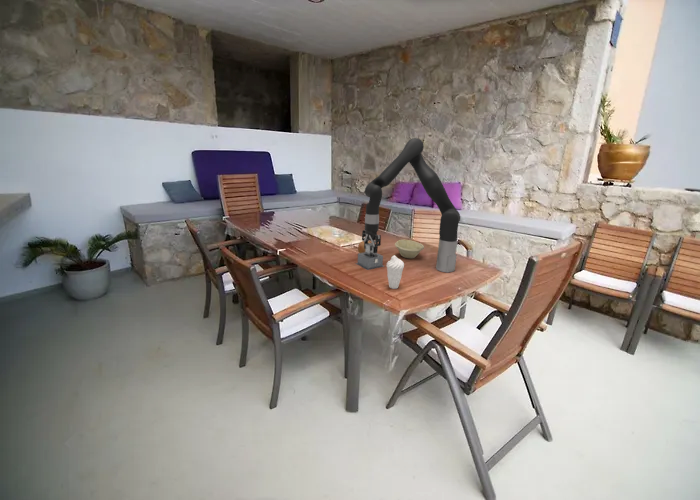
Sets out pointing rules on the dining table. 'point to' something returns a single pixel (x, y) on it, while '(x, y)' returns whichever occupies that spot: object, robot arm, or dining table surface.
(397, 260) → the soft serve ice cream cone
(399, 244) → the bowl
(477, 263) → the dining table surface
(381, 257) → the stand
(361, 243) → the onion
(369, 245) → the translucent grey cylinder
